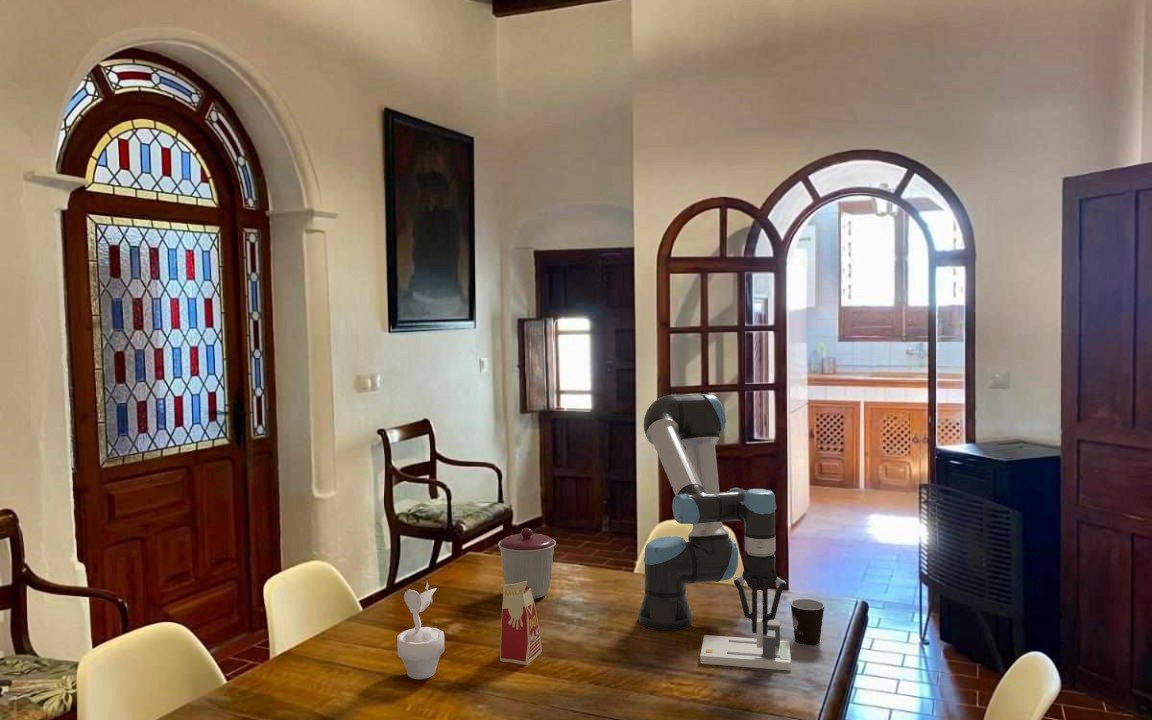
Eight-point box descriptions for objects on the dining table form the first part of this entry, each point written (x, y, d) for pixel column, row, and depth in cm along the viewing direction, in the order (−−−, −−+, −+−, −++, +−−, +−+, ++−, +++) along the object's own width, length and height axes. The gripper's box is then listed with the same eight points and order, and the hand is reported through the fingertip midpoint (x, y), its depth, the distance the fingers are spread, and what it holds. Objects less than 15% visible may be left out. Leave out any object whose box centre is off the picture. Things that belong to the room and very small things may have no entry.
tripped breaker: (762, 657, 212) (762, 635, 212) (762, 650, 216) (762, 629, 216) (775, 658, 211) (775, 636, 211) (775, 651, 215) (775, 630, 215)
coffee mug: (825, 648, 223) (825, 610, 223) (791, 646, 225) (791, 608, 224) (821, 632, 234) (821, 596, 234) (789, 630, 236) (789, 594, 236)
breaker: (767, 645, 219) (767, 624, 219) (767, 639, 223) (767, 619, 223) (779, 646, 219) (779, 625, 218) (779, 640, 223) (779, 619, 222)
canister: (555, 604, 259) (554, 535, 258) (495, 604, 259) (494, 536, 258) (557, 585, 277) (556, 521, 276) (501, 585, 278) (500, 521, 276)
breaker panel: (700, 663, 214) (700, 654, 214) (704, 642, 228) (704, 634, 228) (790, 670, 210) (790, 661, 209) (789, 648, 223) (789, 640, 223)
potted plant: (423, 689, 201) (421, 584, 200) (387, 678, 208) (384, 576, 206) (458, 669, 212) (456, 570, 211) (422, 660, 218) (420, 563, 217)
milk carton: (541, 651, 223) (540, 576, 222) (528, 665, 214) (527, 587, 213) (509, 647, 226) (508, 573, 225) (495, 661, 217) (493, 583, 216)
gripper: (732, 555, 210) (732, 649, 212) (787, 558, 207) (786, 653, 209) (733, 547, 218) (734, 638, 219) (786, 549, 215) (786, 642, 216)
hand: (759, 645), depth 214 cm, fingers closed
